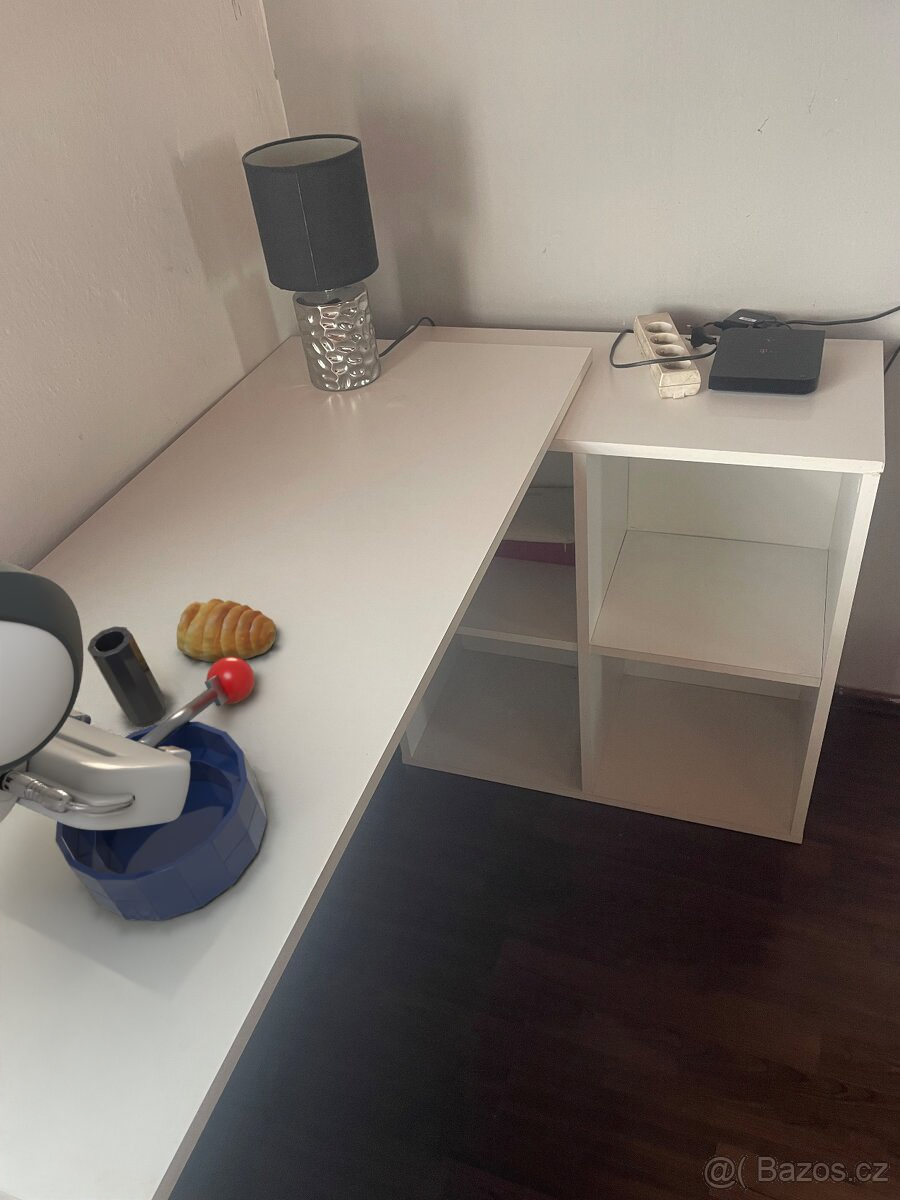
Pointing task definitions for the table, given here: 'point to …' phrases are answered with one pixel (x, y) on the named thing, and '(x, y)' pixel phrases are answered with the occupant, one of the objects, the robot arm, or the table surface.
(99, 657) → the cup
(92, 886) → the bowl
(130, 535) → the table surface
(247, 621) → the pastry
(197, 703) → the baster
